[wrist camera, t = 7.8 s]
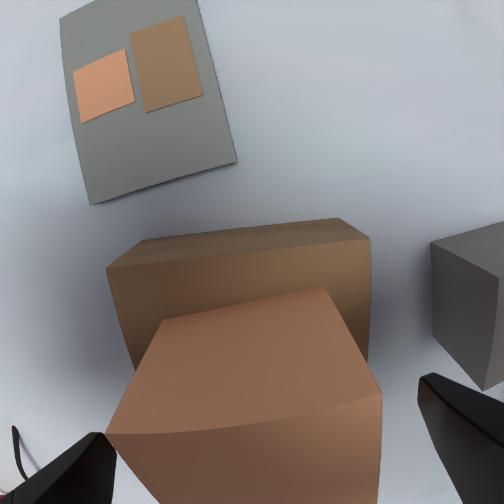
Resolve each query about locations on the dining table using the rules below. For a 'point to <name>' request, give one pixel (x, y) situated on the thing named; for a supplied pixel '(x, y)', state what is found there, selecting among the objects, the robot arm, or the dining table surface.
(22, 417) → the dining table surface
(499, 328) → the charcoal block
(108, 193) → the card
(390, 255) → the dining table surface
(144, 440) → the terracotta block
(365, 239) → the walnut block
